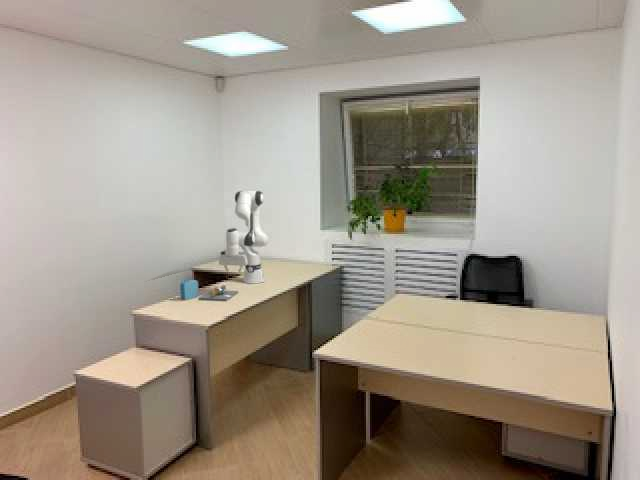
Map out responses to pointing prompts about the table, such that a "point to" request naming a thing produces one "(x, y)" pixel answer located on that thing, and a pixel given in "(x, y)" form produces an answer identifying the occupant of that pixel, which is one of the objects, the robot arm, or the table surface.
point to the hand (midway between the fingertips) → (233, 271)
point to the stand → (218, 296)
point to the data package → (189, 289)
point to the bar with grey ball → (218, 290)
